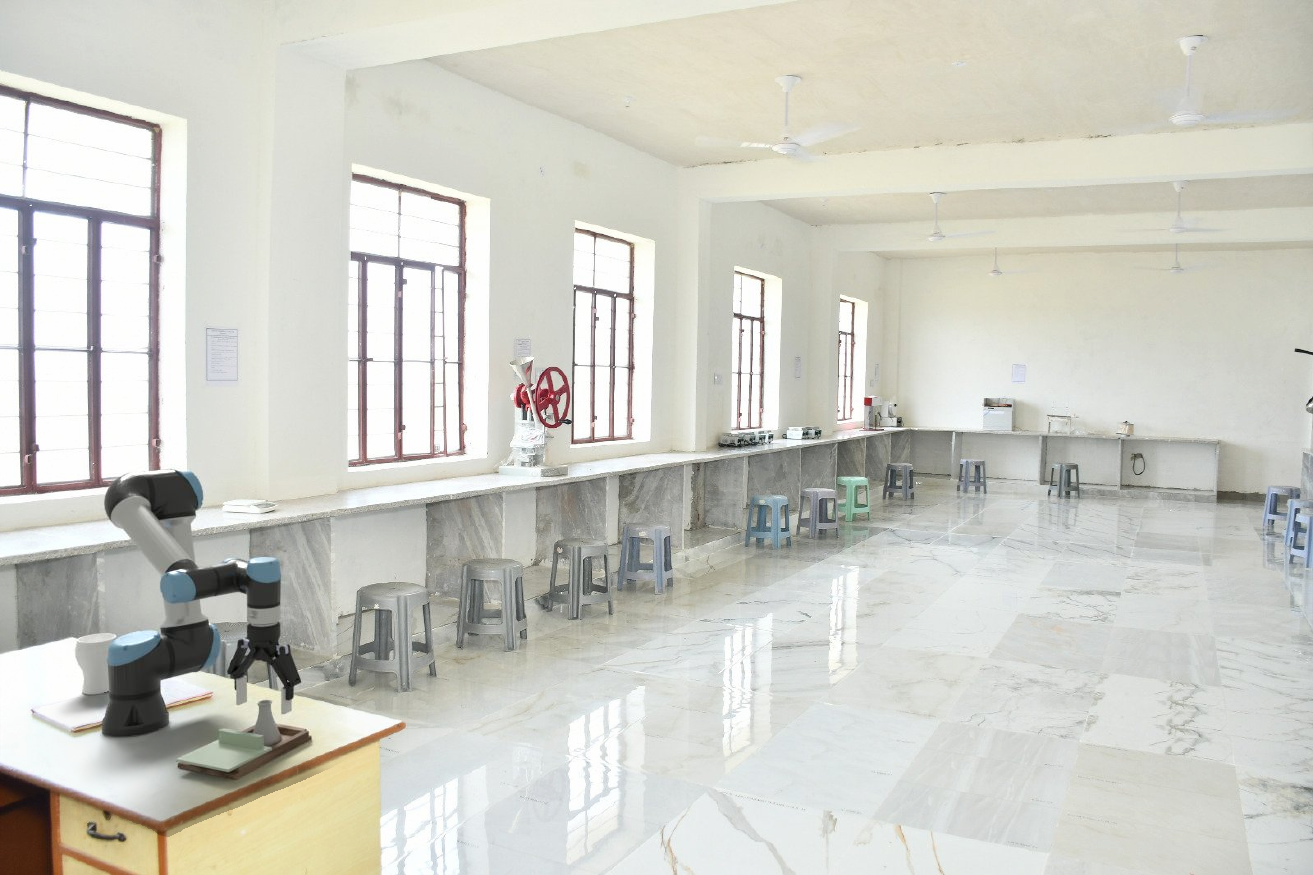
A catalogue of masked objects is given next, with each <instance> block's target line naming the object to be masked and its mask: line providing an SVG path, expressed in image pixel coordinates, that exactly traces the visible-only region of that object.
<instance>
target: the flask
mask: <svg viewBox="0 0 1313 875" xmlns="http://www.w3.org/2000/svg"><path fill="white" fill-rule="evenodd" d="M272 703H273V700H271V699H263V700H259V701H258V702H257V706H258V715H257V719H256V721H255V724H254V725H255V728H254V731H253V734H258V735H264V746H270V745H273V744H276V743H278V742H279V741H280V740H281V738H282V737H281V734H280V732H279V730H278V728H277V726H276V724H277V723H276V721H275V719H274V717H273V716H274V715H273V712H272Z"/></svg>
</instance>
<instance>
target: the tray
mask: <svg viewBox="0 0 1313 875" xmlns="http://www.w3.org/2000/svg"><path fill="white" fill-rule="evenodd" d="M255 725H256V724H254V725H252V726H249V727H248V728H245V729H243V730H242V732H248V733H253V731H254V728H255ZM276 726H277V728H278V730H279V732H280V734H281V737H282V738H281V740H280V741H279V742H278V743H276V744H273V745H270V746H267V747H272V750H271V751H269V752H267V753H265V754H263V755H261V756H259V757H257V758H255V759H253V760H251V761H249V762H247V763H245V764H243V765H241V766H240V767H238V768H236V769H234V770H232V771H230V772H225V771H220V770H215V769H211V768H206V767H201V766H196V765H191V764H186V763H181V762H177V768H180V769H184V770H190V771H193V772H198V773H203V774H208V775H212V776H218V777H224V778H226V779H233V780H237V779H240V778H241V777H244V776H246V775H247V774H250V773H252V771H255V770H257V769H259V768H261V767H263V766H264V765H266V764H268V763H270V762H271V761H274V760H275V759H278V758H279V757H281V755H282V756H283V755H285V754H287V753H289V752H291V751H293V750H295V749H297V748H298V747H300V746H302V745H304V744H306V743H308V742H310V741H312V739H313V738H312V737H313V736H312V735H310V731H308V730H307V728H304V727H298V726H292V725H287V724H281V723H276Z"/></svg>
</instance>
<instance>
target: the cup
mask: <svg viewBox="0 0 1313 875" xmlns="http://www.w3.org/2000/svg"><path fill="white" fill-rule="evenodd" d="M117 638H118V637H117V635H116V634H114V633H110V632H106V633H105V632H103V633H101V632H100V633H99V632H98V633H93V634H87V635H84V636H81V637H79V638H77V640H76V643H75V648H74V654H75V655H74V657H75V659H76V662H77V665H78V666H79V668H80V669H81V671H82V676H83V684H82V691H81V692H82V694H84V695H100V694H105V693H104V692H106V693H108V692H107V691H109V680H108V663H107V658H108V648H109V645H110V644H111V643H112V642H113V641H114V640H115V639H117Z"/></svg>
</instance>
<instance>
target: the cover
mask: <svg viewBox="0 0 1313 875" xmlns="http://www.w3.org/2000/svg"><path fill="white" fill-rule="evenodd" d="M242 731H243V730H242ZM242 731H240V730H237V729H236V730H235V729H231V728H226V727H223V728H220V729H218V732H217V733H218V739H216V740H214V741H212V742H210V743H207V744H206V745H204V746H201V747H199V748H197V749H194V750H193V751H191V752H188V753H186V754H184V755H181V756H180V757H178V758H176V762H177V763H179V762H181V763H186V764H191V765H196V766H201V767H206V768H211V769H215V770H220V771H225V772H230V771H232V770H234V769H236V768H238V767H240V766H241V765H243V764H245V763H247V762H249V761H251V760H253V759H255V758H257V757H259V756H261V755H263V754H265V753H267V752H269V751H271V750H272V747H267V746H264V735H258V734H253V733H248V732H242Z"/></svg>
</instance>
